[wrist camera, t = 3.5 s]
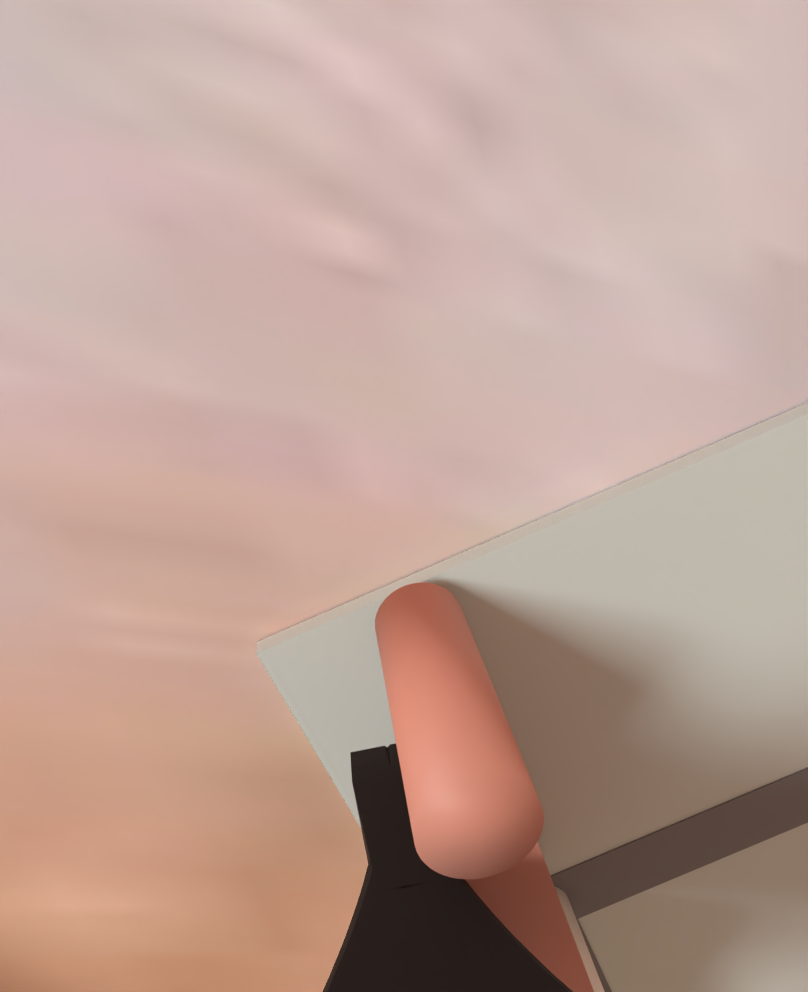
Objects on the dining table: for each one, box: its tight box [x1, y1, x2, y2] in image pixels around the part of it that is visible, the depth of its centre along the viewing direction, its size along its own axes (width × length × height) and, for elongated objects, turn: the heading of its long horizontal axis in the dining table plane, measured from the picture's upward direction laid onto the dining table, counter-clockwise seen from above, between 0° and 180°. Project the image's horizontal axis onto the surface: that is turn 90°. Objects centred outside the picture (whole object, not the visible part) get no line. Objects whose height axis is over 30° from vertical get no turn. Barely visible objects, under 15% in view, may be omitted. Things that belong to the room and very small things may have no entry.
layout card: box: [256, 402, 808, 992], centre depth 17 cm, size 18×15×1 cm
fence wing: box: [375, 582, 594, 992], centre depth 12 cm, size 8×2×5 cm, turn 19°
